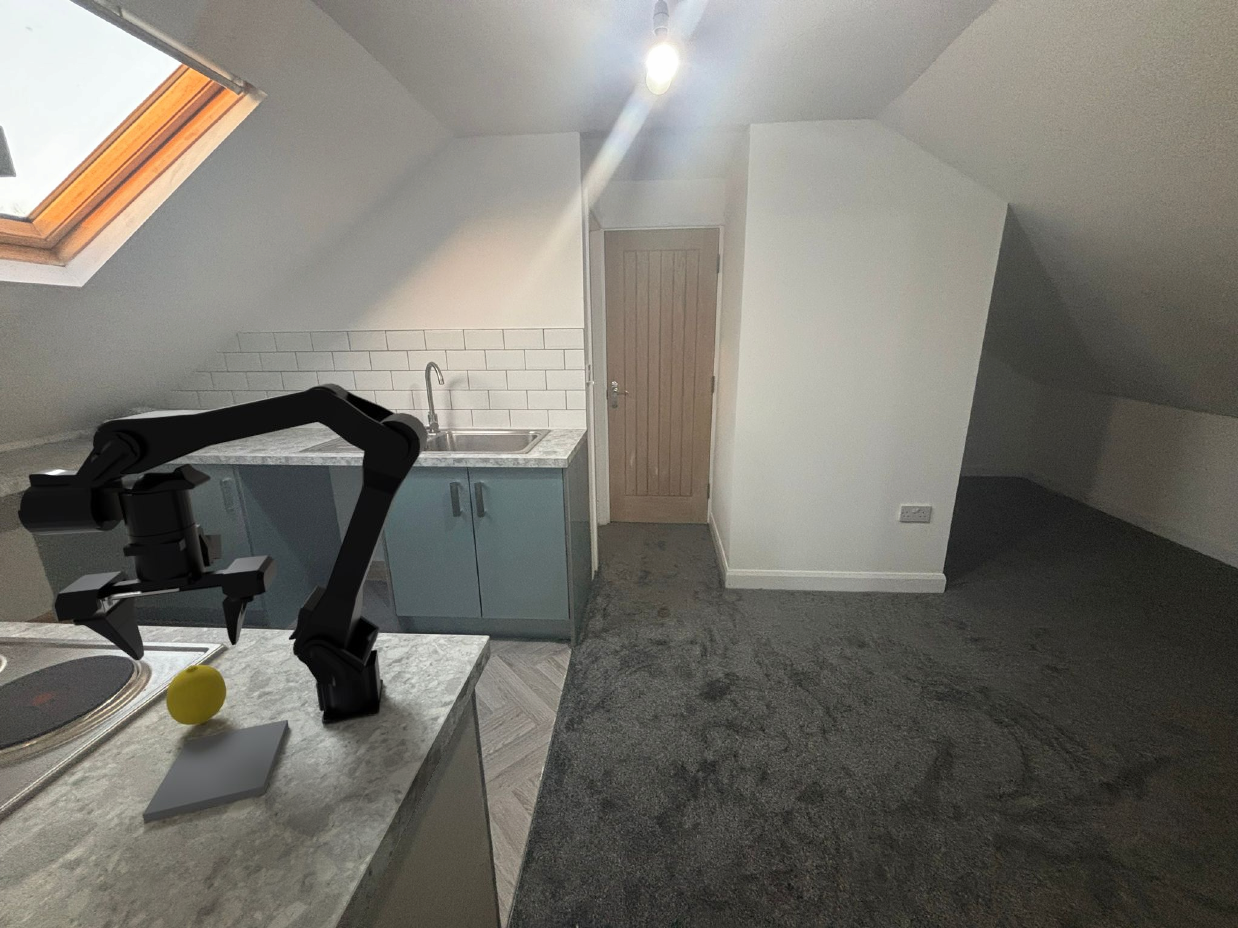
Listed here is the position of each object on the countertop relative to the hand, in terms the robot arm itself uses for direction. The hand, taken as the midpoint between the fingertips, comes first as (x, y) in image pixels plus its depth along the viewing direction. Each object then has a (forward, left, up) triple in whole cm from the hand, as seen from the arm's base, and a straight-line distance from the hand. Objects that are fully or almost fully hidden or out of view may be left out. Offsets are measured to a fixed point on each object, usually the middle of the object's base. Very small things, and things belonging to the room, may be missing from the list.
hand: (189, 650), depth 60 cm
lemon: (0, 0, -10) cm, 10 cm away
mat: (-5, +9, -10) cm, 14 cm away
